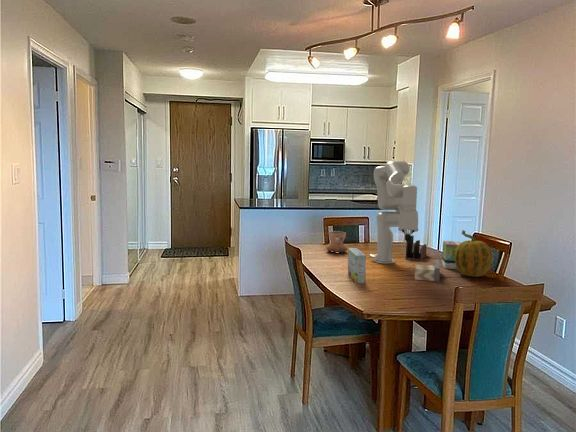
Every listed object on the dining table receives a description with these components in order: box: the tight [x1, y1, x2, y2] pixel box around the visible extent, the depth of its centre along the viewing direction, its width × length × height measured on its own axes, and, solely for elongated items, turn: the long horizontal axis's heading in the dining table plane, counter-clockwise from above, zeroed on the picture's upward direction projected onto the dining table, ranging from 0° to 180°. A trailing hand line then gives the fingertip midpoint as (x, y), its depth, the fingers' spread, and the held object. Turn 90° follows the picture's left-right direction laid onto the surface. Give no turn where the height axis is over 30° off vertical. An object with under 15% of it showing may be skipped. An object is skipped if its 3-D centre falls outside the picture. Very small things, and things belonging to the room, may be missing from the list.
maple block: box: [414, 263, 435, 282], centre depth 257 cm, size 10×12×6 cm
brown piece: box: [326, 230, 348, 253], centre depth 329 cm, size 18×14×14 cm
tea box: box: [441, 240, 461, 270], centre depth 286 cm, size 15×10×15 cm, turn 168°
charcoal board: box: [433, 259, 441, 283], centre depth 259 cm, size 2×22×7 cm, turn 163°
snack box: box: [347, 247, 367, 285], centre depth 253 cm, size 21×6×15 cm, turn 5°
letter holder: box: [405, 235, 427, 261], centre depth 313 cm, size 10×20×14 cm, turn 154°
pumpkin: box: [455, 229, 493, 278], centre depth 261 cm, size 19×19×25 cm
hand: (407, 241), depth 258 cm, fingers closed
